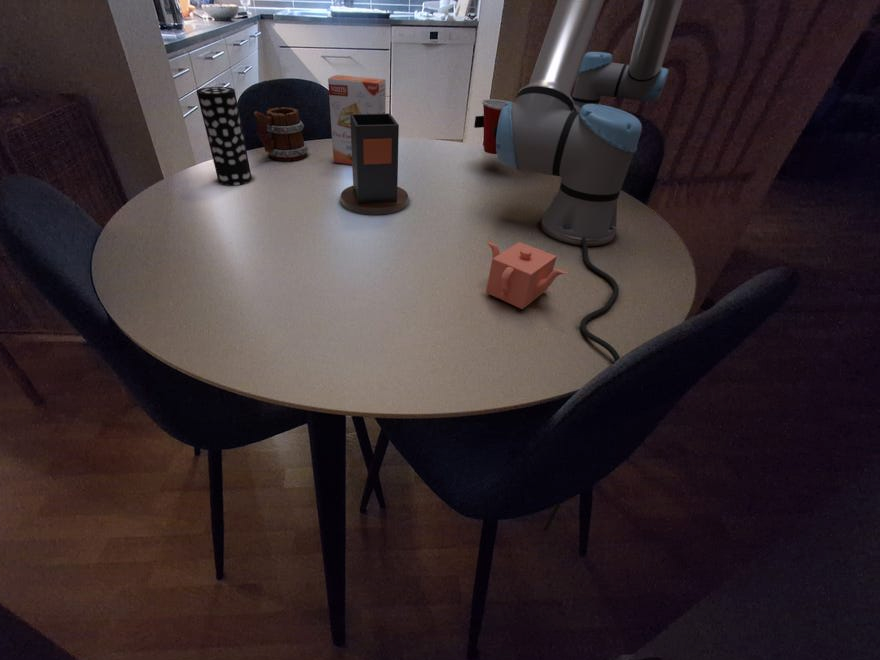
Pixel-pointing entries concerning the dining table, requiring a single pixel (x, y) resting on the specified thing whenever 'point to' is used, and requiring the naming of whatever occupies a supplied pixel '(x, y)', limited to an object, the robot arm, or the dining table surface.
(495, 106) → the plastic cup
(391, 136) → the bin
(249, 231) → the dining table surface
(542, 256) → the teapot
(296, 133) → the mug
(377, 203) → the disc
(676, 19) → the robot arm
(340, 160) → the cracker box
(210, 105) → the spotted tube
